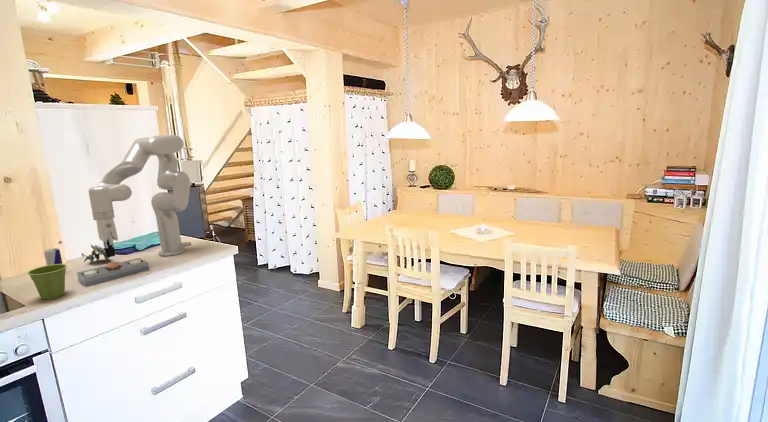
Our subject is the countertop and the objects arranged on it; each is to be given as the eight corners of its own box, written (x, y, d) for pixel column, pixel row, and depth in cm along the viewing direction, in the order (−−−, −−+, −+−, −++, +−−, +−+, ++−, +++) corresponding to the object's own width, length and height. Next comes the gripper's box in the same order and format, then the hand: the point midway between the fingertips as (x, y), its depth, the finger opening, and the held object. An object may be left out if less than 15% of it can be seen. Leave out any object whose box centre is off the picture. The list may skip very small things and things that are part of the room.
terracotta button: (118, 265, 178) (117, 260, 177) (121, 267, 175) (120, 262, 174) (106, 268, 174) (105, 263, 174) (109, 270, 171) (108, 265, 171)
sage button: (96, 273, 172) (95, 269, 171) (98, 276, 169) (98, 271, 168) (83, 277, 168) (82, 272, 168) (85, 279, 165) (85, 274, 165)
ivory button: (139, 263, 184) (138, 258, 184) (143, 264, 181) (142, 260, 181) (128, 265, 181) (127, 261, 180) (131, 267, 178) (130, 263, 177)
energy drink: (67, 273, 180) (62, 248, 177) (54, 278, 175) (48, 252, 173) (59, 272, 182) (54, 247, 179) (46, 277, 177) (40, 251, 174)
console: (140, 264, 188) (139, 257, 187) (149, 270, 180) (148, 262, 179) (78, 280, 170) (76, 272, 170) (85, 286, 163) (83, 278, 162)
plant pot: (40, 305, 146) (34, 276, 144) (28, 299, 152) (22, 271, 150) (78, 293, 156) (72, 266, 154) (65, 288, 162) (59, 262, 160)
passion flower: (110, 271, 197) (116, 254, 192) (84, 274, 189) (89, 256, 184) (104, 255, 203) (110, 238, 198) (78, 257, 194) (83, 239, 189)
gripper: (119, 215, 167) (125, 257, 171) (108, 212, 177) (115, 251, 181) (97, 218, 162) (105, 261, 165) (88, 215, 172) (95, 255, 175)
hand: (110, 256), depth 173 cm, fingers closed
